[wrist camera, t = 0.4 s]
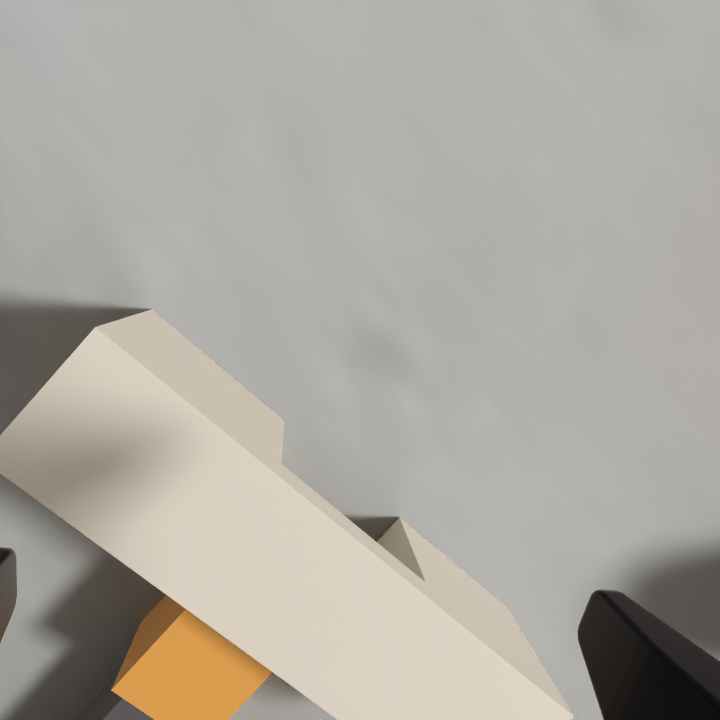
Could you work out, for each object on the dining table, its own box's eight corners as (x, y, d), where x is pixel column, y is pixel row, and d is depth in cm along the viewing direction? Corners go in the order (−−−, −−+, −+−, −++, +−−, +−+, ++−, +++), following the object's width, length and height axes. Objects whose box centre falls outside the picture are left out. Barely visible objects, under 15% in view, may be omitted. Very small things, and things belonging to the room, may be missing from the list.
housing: (432, 687, 26) (473, 819, 20) (67, 404, 23) (-21, 458, 16) (507, 608, 26) (573, 717, 20) (152, 309, 22) (95, 326, 16)
